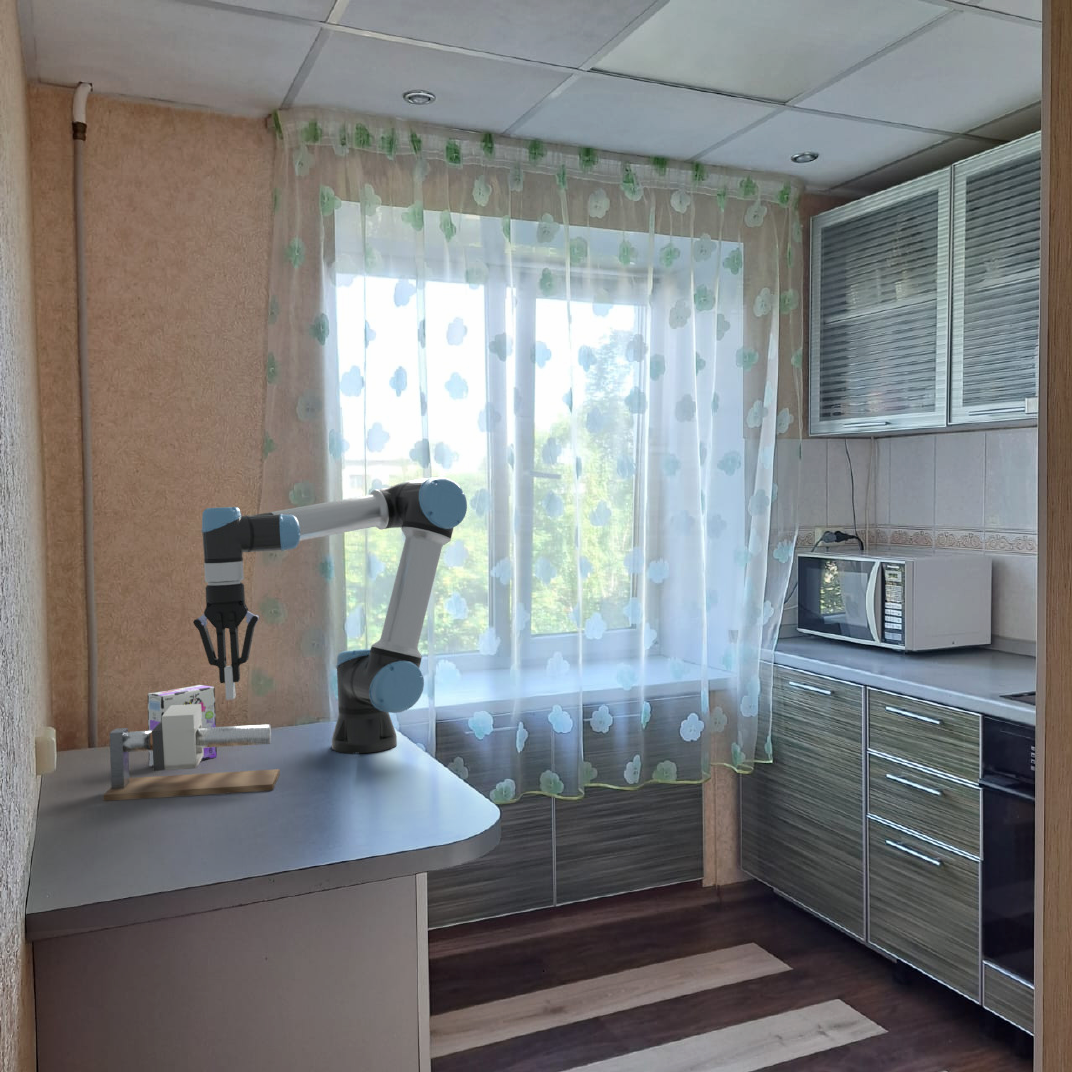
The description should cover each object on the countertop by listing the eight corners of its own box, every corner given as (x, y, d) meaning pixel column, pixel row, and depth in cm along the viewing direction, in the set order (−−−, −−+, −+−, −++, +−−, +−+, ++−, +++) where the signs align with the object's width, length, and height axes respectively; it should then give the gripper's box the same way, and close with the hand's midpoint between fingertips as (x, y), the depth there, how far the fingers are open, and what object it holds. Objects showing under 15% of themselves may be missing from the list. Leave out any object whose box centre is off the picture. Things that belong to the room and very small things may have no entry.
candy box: (163, 770, 212) (160, 695, 212) (148, 766, 216) (145, 692, 215) (218, 757, 223) (215, 685, 223) (202, 753, 227) (200, 683, 226)
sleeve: (203, 755, 202) (201, 703, 201) (196, 768, 194) (193, 714, 193) (173, 757, 201) (170, 705, 200) (164, 770, 193) (161, 716, 192)
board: (279, 774, 206) (279, 769, 206) (272, 790, 194) (272, 784, 194) (120, 784, 201) (120, 778, 201) (103, 800, 189) (103, 794, 189)
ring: (173, 758, 201) (171, 720, 200) (164, 770, 193) (162, 730, 192) (163, 759, 201) (161, 720, 200) (153, 770, 193) (151, 730, 192)
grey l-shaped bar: (272, 774, 202) (270, 720, 202) (269, 779, 198) (268, 724, 198) (117, 783, 197) (115, 728, 197) (111, 789, 193) (109, 732, 193)
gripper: (260, 580, 203) (266, 692, 203) (195, 583, 201) (201, 697, 201) (255, 582, 195) (261, 699, 196) (187, 586, 193) (193, 704, 194)
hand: (230, 698), depth 199 cm, fingers closed
